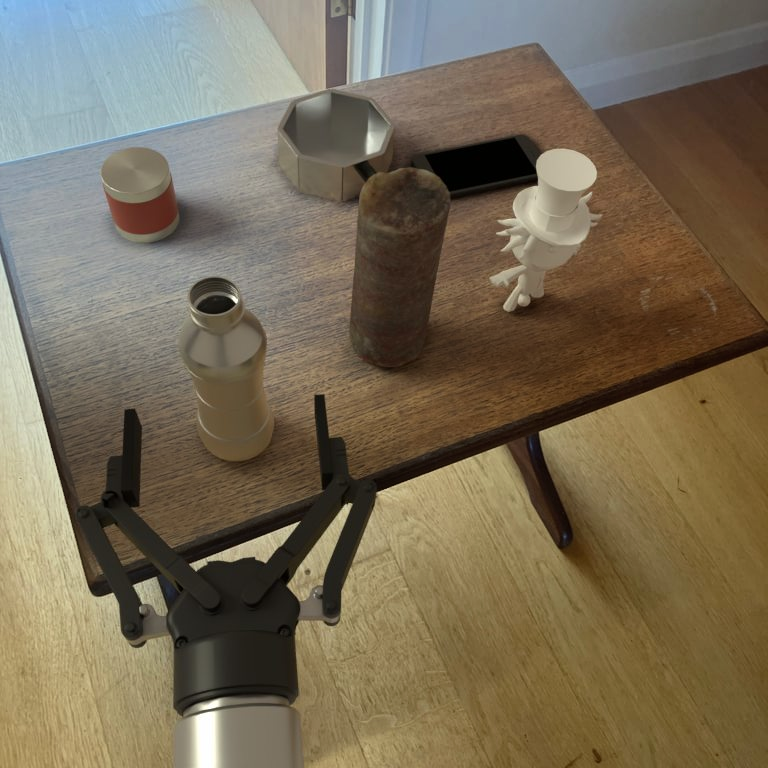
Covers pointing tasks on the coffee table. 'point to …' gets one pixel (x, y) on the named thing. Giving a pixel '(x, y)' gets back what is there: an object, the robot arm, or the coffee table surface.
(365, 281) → the candle
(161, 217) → the tin can
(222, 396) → the metal bottle
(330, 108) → the saucepan
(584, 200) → the figurine
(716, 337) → the coffee table surface
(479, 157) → the smartphone
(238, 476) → the coffee table surface
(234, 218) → the coffee table surface
